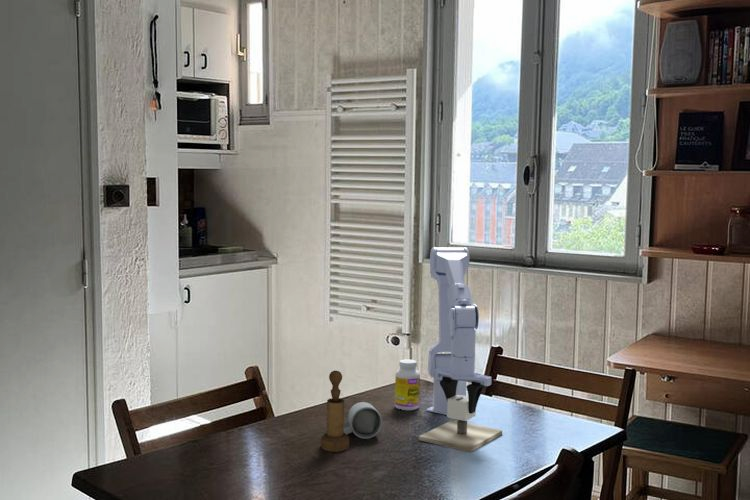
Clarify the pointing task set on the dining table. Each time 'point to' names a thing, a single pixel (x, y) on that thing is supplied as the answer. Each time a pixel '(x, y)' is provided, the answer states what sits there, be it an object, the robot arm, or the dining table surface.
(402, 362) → the supplement bottle
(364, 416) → the ceramic mug
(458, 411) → the white cabinet with handle
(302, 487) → the dining table surface
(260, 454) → the dining table surface
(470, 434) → the board
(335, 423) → the mortar and pestle
